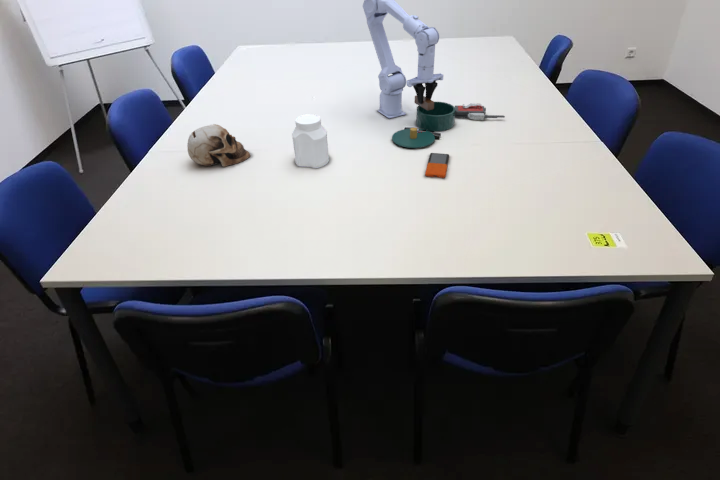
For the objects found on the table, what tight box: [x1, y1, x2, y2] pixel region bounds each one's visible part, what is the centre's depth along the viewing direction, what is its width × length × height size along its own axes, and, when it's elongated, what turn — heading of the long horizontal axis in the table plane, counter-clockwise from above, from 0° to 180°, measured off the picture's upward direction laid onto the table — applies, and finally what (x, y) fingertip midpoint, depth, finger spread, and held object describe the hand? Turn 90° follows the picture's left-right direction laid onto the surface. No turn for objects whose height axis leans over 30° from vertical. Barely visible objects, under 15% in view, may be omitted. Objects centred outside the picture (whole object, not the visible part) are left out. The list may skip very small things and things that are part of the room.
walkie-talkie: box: [454, 103, 506, 121], centre depth 185 cm, size 9×4×20 cm
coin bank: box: [186, 123, 251, 168], centre depth 160 cm, size 16×17×13 cm
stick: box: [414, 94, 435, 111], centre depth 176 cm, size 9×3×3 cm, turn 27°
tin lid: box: [391, 127, 436, 149], centre depth 170 cm, size 15×15×4 cm
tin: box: [415, 101, 456, 132], centre depth 180 cm, size 14×14×6 cm
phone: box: [424, 152, 450, 179], centre depth 154 cm, size 6×1×15 cm
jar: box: [291, 113, 330, 169], centre depth 156 cm, size 12×10×15 cm
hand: (424, 102), depth 176 cm, fingers closed on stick, 3 cm apart
